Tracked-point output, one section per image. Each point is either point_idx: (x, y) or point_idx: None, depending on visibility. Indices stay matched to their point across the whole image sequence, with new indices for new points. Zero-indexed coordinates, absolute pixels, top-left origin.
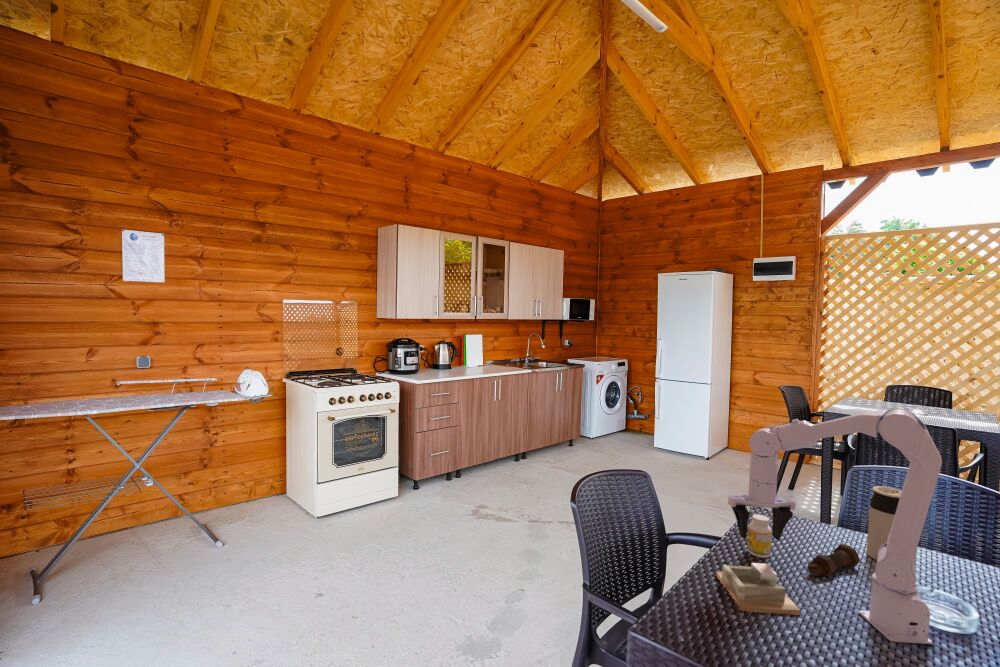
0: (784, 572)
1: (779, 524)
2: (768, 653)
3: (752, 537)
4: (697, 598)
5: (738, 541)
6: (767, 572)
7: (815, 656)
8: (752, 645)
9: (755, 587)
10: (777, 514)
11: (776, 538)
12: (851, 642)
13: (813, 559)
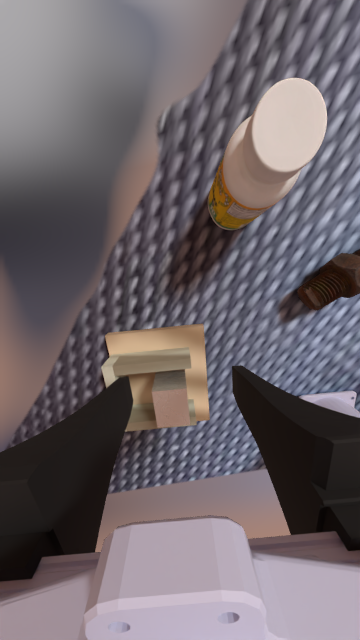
0: (248, 290)
1: (262, 449)
2: (136, 483)
3: (220, 199)
4: (68, 404)
5: (204, 132)
6: (172, 423)
7: (186, 479)
8: (122, 476)
9: (145, 429)
10: (287, 478)
11: (234, 392)
12: (243, 452)
13: (335, 265)
